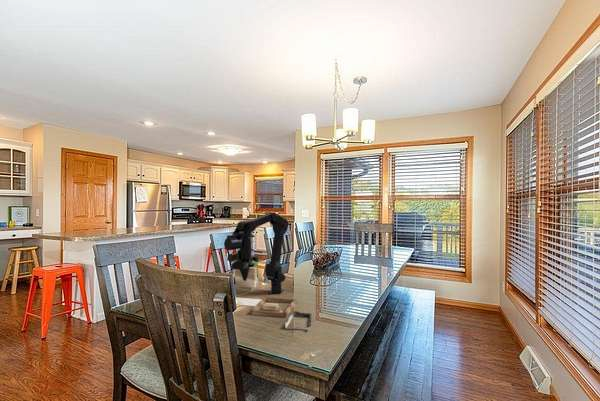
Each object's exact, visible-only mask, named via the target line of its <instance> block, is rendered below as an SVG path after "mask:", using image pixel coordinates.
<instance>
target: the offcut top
mask: <svg viewBox="0 0 600 401" xmlns="http://www.w3.org/2000/svg"><path fill="white" fill-rule="evenodd" d="M262 307H263V309H267V310H277V308H278V307H279V303H274V302H272V303H271V302H265V303H264V304H263V305H262Z"/></svg>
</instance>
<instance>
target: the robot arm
mask: <svg viewBox="0 0 600 401" xmlns="http://www.w3.org/2000/svg"><path fill="white" fill-rule="evenodd" d="M267 223H269V224H270V225H272V232H273V235H274V236H273V241H272V242H273V243H272V249H271V257H270V261H269V262H268V263H266V264H265V270H264V272H265V276H266V278H267V281H270V290H269V291H268V294H279V295H280V294H282V293H283V292H284V291H285V289H284V288H283V286H282V285H283V282H285V281H286V275H285V274H284V273H283V270H282V269H283V267H282V264H281V255H282V251H283V250H282V248H283V241H284V236H285V234H286V233H287V231H288V228H289V221H288V219H287V218H284V217H282V216H280V215H278V214H277V213H276V212H267V213H265V214H262V215H260V216H257V217H255V218H254V219H253V218H252V219H248V220H247V219H246V220H241V221H238V222H237V225H236V227H235V229H234V230H233V233H231V234H232V235H231V234H229V235H226V238H225V240H224V242H223V246H224V249H225V250H227V251H234V250H237V251H236V253H234V254H233V253H232V252H231V253H229V254H227V256H226V260H227V261H228V262H229V264H230V265H231V266H230V268H231V269H232V270H235V269H239V270H240V272H241V275H242V277H243V280H244V281H246V279H247V275H248V272H249V268H250V267H254V265H255V263H252V261H255V262H260V261H259V260H260V259H259V256H258V255H252V252H254V248H252V238H255V237H256V236H255V235H254V234H253V232H254V231H255V230H256V229H257V228H258V227H261V226H262V225H265V224H267ZM236 260H237V261H236Z"/></svg>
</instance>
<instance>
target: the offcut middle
mask: <svg viewBox="0 0 600 401" xmlns="http://www.w3.org/2000/svg"><path fill="white" fill-rule="evenodd" d="M259 310H260V311H273V312H280V311H281V310H282V308H281V307H280V306H278V308H277V310H267V309H263V306H261V307H260V308H259Z"/></svg>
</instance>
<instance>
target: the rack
mask: <svg viewBox="0 0 600 401" xmlns="http://www.w3.org/2000/svg"><path fill="white" fill-rule="evenodd" d="M267 302H269V303H271V302H272V303H284V304H285V303H286V304H287V303H288V304H289V306H288V307H287V308H286V309H285V311H282V312H273V311H260V308H262V307H263V305H264V304H265V303H267ZM297 302H298V300H297V299H296V298H284V297H283V298H282V297H272V296H271V297H268V296H264V297H263V298H262V300H261V301H260V302H259V303H258V304H257V305H256V306H253V307H252V308H251V309H250V310H249V315H251V316H252V315H254V316H266V317H276V318H287V317H288V315H289V314H290V313H291V311H292V310H293V308H294V307H295V306H296V305H297Z"/></svg>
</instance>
